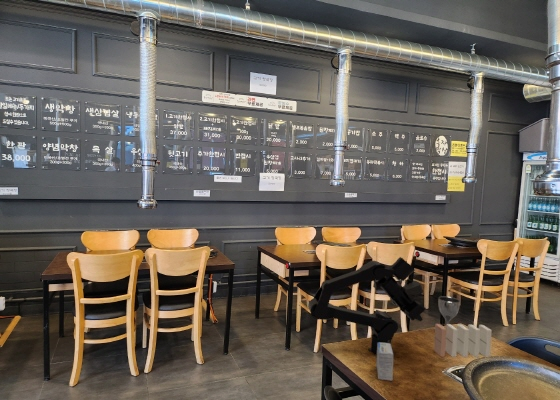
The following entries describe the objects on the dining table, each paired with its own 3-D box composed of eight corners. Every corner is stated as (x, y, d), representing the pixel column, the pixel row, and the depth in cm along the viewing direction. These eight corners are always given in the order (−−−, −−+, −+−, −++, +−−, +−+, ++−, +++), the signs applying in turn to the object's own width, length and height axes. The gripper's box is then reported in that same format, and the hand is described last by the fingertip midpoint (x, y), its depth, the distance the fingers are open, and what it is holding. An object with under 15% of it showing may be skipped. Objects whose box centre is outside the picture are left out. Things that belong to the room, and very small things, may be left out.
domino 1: (440, 356, 128) (442, 329, 127) (433, 350, 133) (435, 323, 132) (445, 356, 128) (446, 329, 127) (438, 350, 133) (439, 324, 132)
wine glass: (461, 339, 144) (463, 302, 143) (441, 338, 144) (443, 301, 143) (452, 331, 152) (454, 296, 151) (433, 330, 152) (435, 295, 151)
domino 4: (474, 357, 128) (476, 329, 128) (466, 350, 133) (468, 324, 133) (478, 357, 128) (480, 330, 128) (470, 350, 133) (472, 324, 133)
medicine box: (392, 381, 109) (393, 354, 109) (377, 379, 110) (379, 352, 110) (389, 369, 117) (391, 343, 117) (375, 367, 118) (377, 341, 118)
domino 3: (463, 356, 128) (464, 329, 128) (455, 350, 133) (457, 324, 133) (467, 357, 128) (469, 329, 128) (459, 350, 133) (461, 324, 133)
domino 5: (485, 357, 128) (487, 330, 128) (477, 351, 133) (478, 324, 133) (490, 357, 129) (491, 330, 128) (481, 351, 134) (483, 324, 133)
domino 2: (451, 356, 128) (453, 329, 127) (444, 350, 133) (446, 324, 132) (456, 356, 128) (457, 329, 128) (449, 350, 133) (450, 324, 133)
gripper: (421, 281, 119) (451, 314, 120) (399, 268, 138) (425, 297, 139) (396, 303, 119) (426, 336, 120) (378, 287, 138) (404, 316, 139)
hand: (421, 320), depth 129 cm, fingers closed
